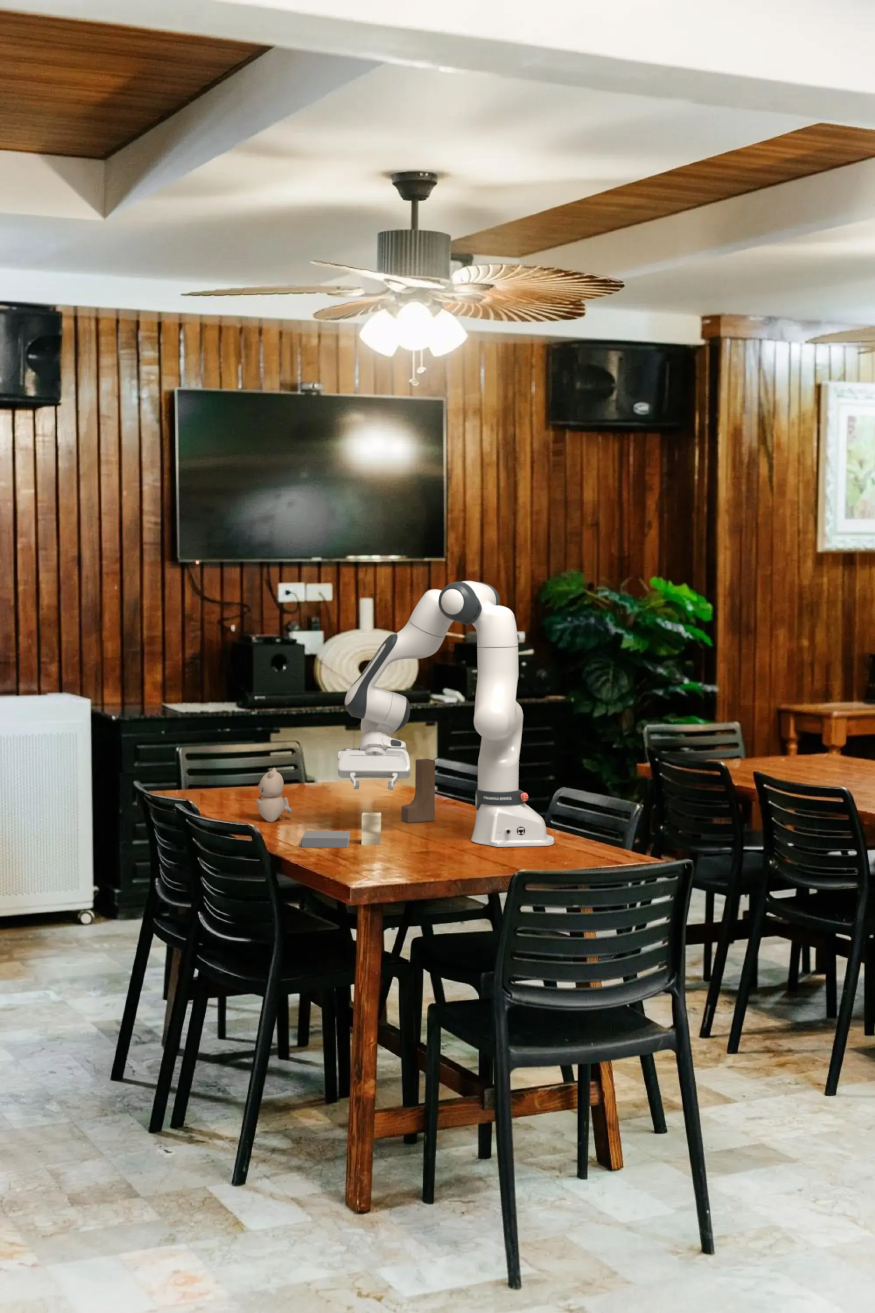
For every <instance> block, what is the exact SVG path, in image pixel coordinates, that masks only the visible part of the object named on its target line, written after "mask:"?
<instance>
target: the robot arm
mask: <svg viewBox="0 0 875 1313" xmlns="http://www.w3.org/2000/svg"><path fill="white" fill-rule="evenodd" d="M500 601H501V600H500V595H499V592H498V590H496V589H495V587H494V586H492V585H490V584H488V583H486V582H480V581H478V582H477V581H473V580H463V581H454V582H452V583H449V584H447V585H446V586H445V587H443V589H437V588H435V589H434V588H433V589H428V590H427V591H426V592H424V594H423V596H422V597H420V599H419V601H418V602H417V604H416V606H415V608H414V610H413V611H412V613H411V615H410V616H409V619H408V621H407V623H406V625H404V627H403V628H402V629H401V630H399V631H397V633H392V634H389V635H388V637H386V638H385V640H384V641H383V642H382V644H381V645H380V647H378V649H377V650H376V652H375V653H374V655H373V657H372V658H371V660H369V662H368V664H367V665H366V667H365V668H364V670H363V671H362V672H361V674H360V675H359V677H358V678H357V679H356V680H355V681H354V682H353V684H351V686H350V687H349V689H348V691H347V693H346V695H345V698H344V706H345V709H346V711H347V713H348V714H349V715H350V716H351V717H353V718H357V719H361V722H360V732H361V735H360V738H359V747H357V748H356V747H354V748H349V747H346V748H343V749H341V750H339V751H338V752H337V760H338V764H337V775H338V776H339V777H340V778H341V779H342V778H343V779H349V780H350V782H351V783H352V784H353V785H352V786H353V790H360V781H359V780H357V779H391V781H388V782H387V790H389V791H390V790H391V791H392V790H394V786H395V785H396V783H397V782H398V781H399V780H398V779H408V778H410V776H411V761H410V760H411V759H410V755H409V752H408V751H407V745H406V742H405V741H403V740H399V739H397V738H393V737H392V734H395V733H396V732H399V731H400V730H401V729H403V728H404V727H405V726H406V725H407V723H408V721H409V720H410V715H411V706H410V702H409V700H408V698H407V697H406V696H404V695H402V694H399V693H397V692H394V691H391V690H390V691H389V690H387V689H383V688H382V687H378V686H375V685H376V683H377V682H378V681H379V679H380V678H381V676H382V675H383V673H384V672H385V671H386V670H387V667H388V666H389V665H390V664H392V663H395V661H396V662H397V661H399V660H400V661H401V660H409V659H410V660H411V659H412V660H413V659H415V660H418V659H419V660H420V659H425V658H428V657H431V656H432V655H434V654H436V653H437V652H438V651H439V649H440V648H441V645H442V644H443V642H444V640H445V637H446V636H447V634H448V632H449V629H450V626H452V624H453V622H457V623H461V624H462V625H463V624H464V625H466V626H470V625H473V627H474V629H475V630H476V642H477V644H476V647H477V648H476V649H477V650H476V652H477V654H476V655H477V678H476V679H477V681H476V687H475V688H476V690H475V697H474V698H475V700H474V701H475V702H474V716H473V726H474V729H475V731H476V732H477V733H478V734H479V735H480V737H481V741H480V747H479V748H480V749H479V756H478V759H477V760H478V761H477V788H476V789H475V810H476V814H475V815H476V816H475V823H474V827H473V832H472V835H471V839H470V841H471V842H472V843H473V842H474V843H475V844H480V845H486V846H487V845H488V846H492V847H496V848H497V847H498V848H499V847H500V848H502V847H503V848H508V847H509V848H510V847H544V846H545V847H546V846H547V847H548V846H552V845H554V844H555V837H554V836H552V835H550V834H547V833H548V832H547V826H546V823H545V820H544V818H543V817H542V816H541V815H540V814H539V813H538V812H537V811H535V810H534V809H533V808H531V807H530V806H529V805H527V804H526V801H528V800H529V795H528V793H527V792H524V791H523V790H521V789H519V780H520V779H519V777H520V776H519V774H520V772H519V769H520V767H519V764H520V761H519V760H520V754H521V744H522V734H523V724H524V723H523V722H524V713H523V709H522V706H521V705H520V704H519V702H517V700H516V699H517V688H518V680H519V638H518V630H517V622H516V618H515V614H514V613H513V611H512V610H511V609H510V608H509V607H506V606H503V605H500V603H501V602H500Z"/></svg>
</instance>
